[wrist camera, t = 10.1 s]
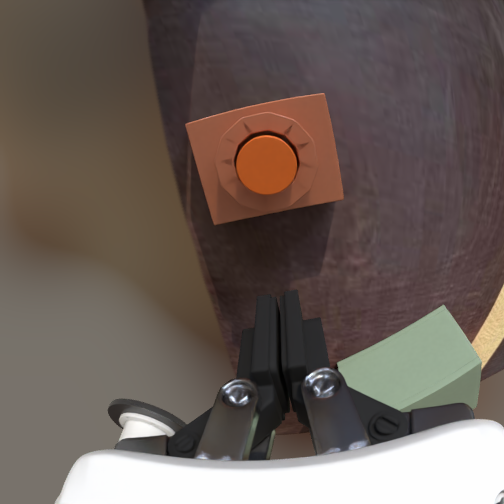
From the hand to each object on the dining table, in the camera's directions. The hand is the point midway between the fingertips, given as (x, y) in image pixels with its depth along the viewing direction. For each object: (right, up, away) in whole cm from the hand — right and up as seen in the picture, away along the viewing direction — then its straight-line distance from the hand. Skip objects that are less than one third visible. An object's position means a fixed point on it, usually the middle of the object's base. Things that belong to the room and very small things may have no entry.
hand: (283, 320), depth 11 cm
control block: (0, +10, +9) cm, 14 cm away
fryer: (+18, -12, +19) cm, 29 cm away
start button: (0, +9, +6) cm, 10 cm away
